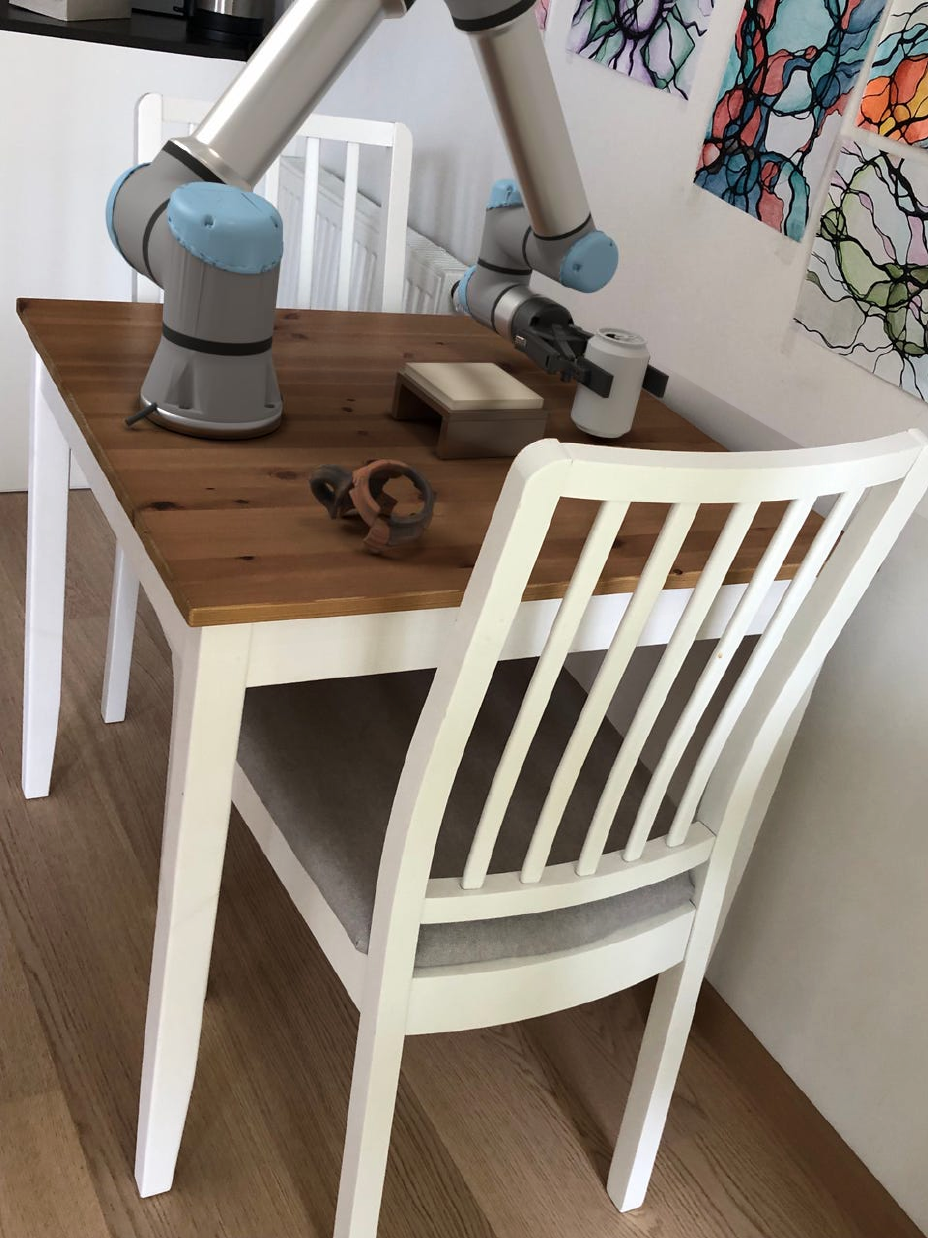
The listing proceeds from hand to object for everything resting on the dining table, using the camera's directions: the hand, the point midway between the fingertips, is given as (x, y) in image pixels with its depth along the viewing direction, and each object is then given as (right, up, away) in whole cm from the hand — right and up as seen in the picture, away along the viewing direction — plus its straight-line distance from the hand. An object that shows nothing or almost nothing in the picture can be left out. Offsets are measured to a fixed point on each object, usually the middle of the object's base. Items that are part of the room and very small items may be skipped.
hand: (636, 386), depth 145 cm
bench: (-20, -6, 0) cm, 21 cm away
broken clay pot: (-30, -19, -27) cm, 44 cm away
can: (-4, -4, +7) cm, 9 cm away
